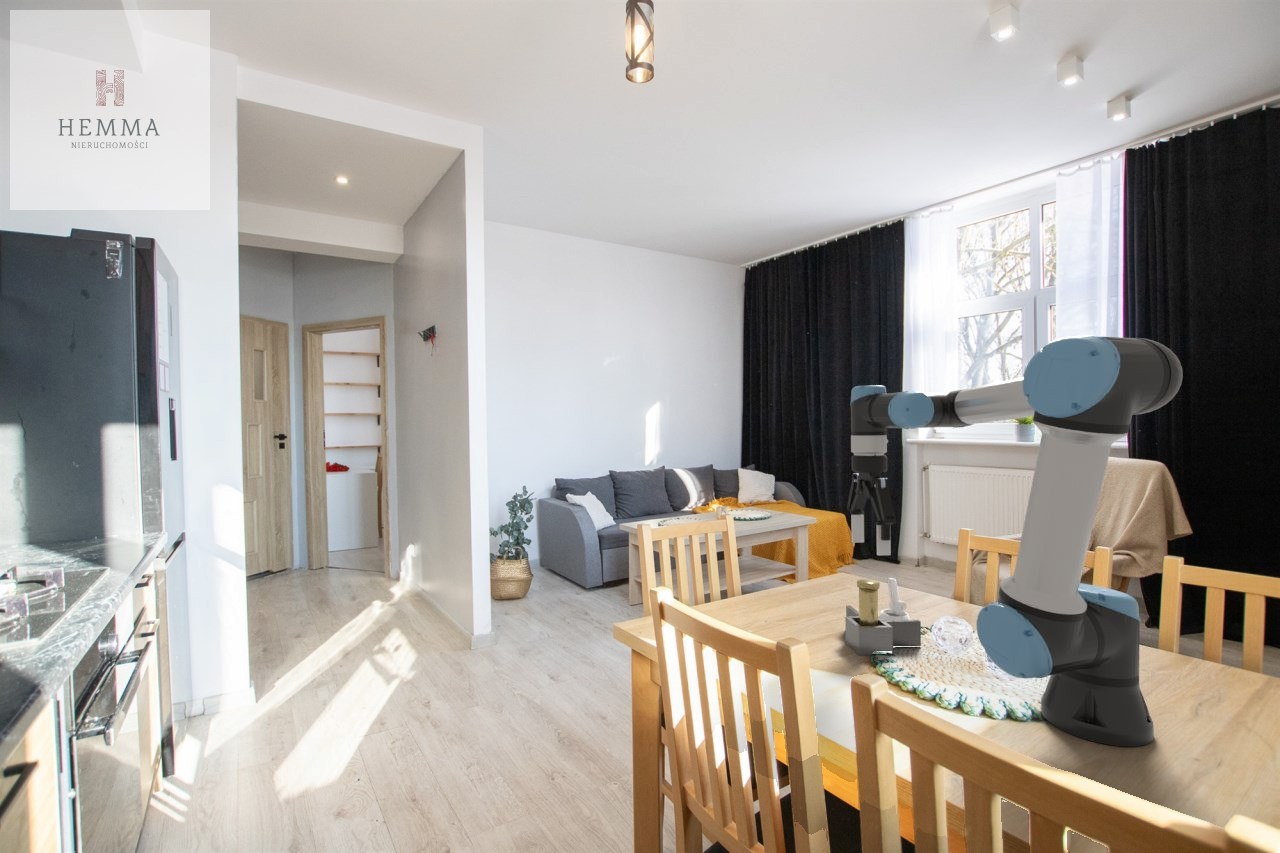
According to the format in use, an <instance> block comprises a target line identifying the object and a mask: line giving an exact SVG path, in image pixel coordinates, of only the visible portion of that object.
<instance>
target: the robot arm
mask: <svg viewBox="0 0 1280 853" xmlns="http://www.w3.org/2000/svg"><path fill="white" fill-rule="evenodd" d="M1181 364H1182V363H1181V362H1180V360H1179V358H1178V356H1177V355H1176V354H1175V353H1174V352H1173V350H1171V349H1170V348H1168V347H1167V346H1165V344H1162V343H1160V342H1158V341H1155V340H1152V339H1148V338H1140V337H1119V336H1118V337H1117V336H1102V335H1101V336H1100V335H1099V336H1098V335H1093V334H1090V335H1077V336H1076V335H1075V336H1074V335H1073V336H1067V337H1061V338H1058V339H1055V340H1052V341H1050V342H1049V343H1046V344H1045V345H1044V346H1043V347H1042V348H1040V349H1039V350H1037V352H1035V354H1034V355H1033V356H1032V357H1031V358H1030V360H1029V362H1028V363H1027V365H1026V367H1025V370H1024V373H1023V376H1022V377H1018V378H1013V379H1008V380H1003V381H998V382H992V383H988V384H983V385H977V386H973V387H968V388H963V389H958V390H951V391H946V392H945V391H944V392H940V391H939V392H933V391H932V392H931V391H930V392H928V391H927V392H925V391H924V392H922V391H914V390H905V391H900V392H899V391H898V392H891V393H887V387H886V386H885V385H881V384H880V385H879V384H878V385H877V384H876V385H875V384H874V385H873V384H871V385H870V384H869V385H857V386H854V387H852V389H851V392H850V393H851V394H850V395H851V396H850V404H849V406H850V430H851V431H850V432H851V433H850V434H851V435H850V452H851V453H853V455H852V456H851V470H852V472H854V473H852V474H851V484H850V490H849V495H848V501H847V504H846V505H847V506H846V510H847V511H849V513H850V515H851V520H850V522H851V523H850V524H851V527H850V528H851V543H853V544H854V543H865V514H866V513H865V511H864V509H865V506H866V503H867V500H870V502H871V505H872V507H873V510H874V514H875V516H876V519H877V521H876V522H875V525H876V555H877V556H891V554H892V550H891V548H892V547H891V543H892V542H891V541H892V540H891V538H892V537H891V534H892V533H891V526H892V525H893V524H896V523H897V517H896V513H895V509H894V506H893V504H894V503H893V499H892V495H891V492H890V482H889V478H888V477H882V475H881V473H885V472H888V457H887V455H886V453H887V452H888V449H887V448H888V445H887V444H888V443H889V440H888V438H887V435H888V430H887V429H888V428H889V429H906V430H910V429H922V428H953V429H954V428H955V429H957V428H965V427H969V426H974V425H975V424H984V423H991V422H998V421H1009V420H1016V419H1024V418H1030V417H1031V418H1032V422H1033V423H1034V425H1035V426H1036V427H1037V428H1038V430H1039V431H1040V433H1041V438H1040V443H1039V447H1038V452H1037V457H1036V461H1035V467H1034V472H1033V478H1032V481H1031V488H1030V493H1029V497H1028V500H1027V501H1028V502H1027V507H1026V513H1025V517H1024V522H1023V527H1022V532H1021V537H1020V541H1019V542H1020V543H1019V547H1018V551H1017V557H1016V561H1015V567H1014V572H1013V574H1012V575H1010V576H1007V577H1006V578H1003V579H1002V580H1001V582H1000V586H999V590H998V595H997V600H996V602H994V601H993V602H990V603H989V604H987V605H986V606H983V607H982V608H981V609H980V610H979V612H978V614H977V617H976V623H975V624H976V632H977V636H978V641H979V643H980V644H981V646H982V647H983V648H984V650H985V654H986V656H988V658H989V659H990V660H991V661H992V662H993V664H994V665H996V667H998V669H1000V670H1002V671H1003V672H1005V673H1006V674H1008V675H1010V676H1012V677H1015V678H1018V679H1019V678H1020V679H1043V678H1046V677H1048V676H1049V679H1048V681H1047V684H1046V686H1045V687H1046V688H1045V690H1044V692H1043V694H1041V698H1040V703H1041V705H1040V711H1041V715H1042V716H1043V718H1044V719H1045V720H1046V721H1047V722H1049V723H1050V724H1052V725H1053V726H1055V727H1056V728H1058V729H1060V730H1062V731H1064V732H1066V733H1068V734H1070V735H1073V736H1076V737H1079V738H1081V739H1085V740H1088V741H1092V742H1094V743H1095V742H1096V743H1099V744H1105V745H1108V746H1109V745H1110V746H1115V747H1141V746H1146V745H1149V744H1150V743H1152V742H1153V741H1154V738H1155V737H1154V726H1155V725H1154V721H1153V719H1152V716H1150V711H1149V709H1148V706H1147V702H1146V701H1145V698H1144V695H1143V693H1142V690H1141V688H1140V625H1141V624H1140V623H1141V622H1142V621H1141V620H1142V619H1141V617H1140V613H1139V612H1140V611H1139V603H1138V602H1137V600H1136V599H1135V598H1134V597H1133V596H1131V595H1129V593H1125V592H1123V591H1119V590H1116V589H1112V588H1108V587H1103V586H1100V585H1093V584H1088V583H1082V582H1081V581H1082V580H1081V579H1082V574H1083V573H1084V572H1083V570H1084V568H1085V567H1084V566H1085V562H1086V559H1087V553H1088V549H1089V546H1090V541H1091V535H1092V532H1093V528H1094V524H1095V523H1094V522H1095V518H1096V513H1097V510H1098V506H1099V503H1100V502H1099V501H1100V497H1101V493H1102V489H1103V488H1102V487H1103V483H1104V479H1105V475H1106V470H1107V466H1108V461H1109V458H1110V454H1111V453H1110V452H1111V448H1112V445H1113V444H1114V443H1115V442H1117V441H1118V440H1121V439H1123V438H1124V437H1126V436H1127V435H1128V434H1129V429H1130V424H1131V421H1132V416H1133V415H1142V414H1147V413H1151V412H1153V411H1156V410H1159V409H1161V408H1162V407H1163V406H1165V405H1167V404H1168V403H1169V402H1170V401H1172V400H1173V399H1174V397H1175V396H1176V395H1177V394H1178V393H1179V390H1180V387H1181V386H1182V382H1183V378H1184V376H1183V373H1184V372H1183V367H1182V365H1181Z"/></svg>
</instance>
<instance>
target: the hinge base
mask: <svg viewBox="0 0 1280 853" xmlns="http://www.w3.org/2000/svg"><path fill="white" fill-rule="evenodd" d="M845 610H846V611H845V617H844V618H845V620H844V621H845V622H844V624H845V625H844V626H845V643H846V644H847V646H849V648H851V649H852V650H853V651H854V652H855V653H856V654H857V655H858V656H873V655H872V653H873V652H874V651H894V648H893V646H921V647H922V644H921V643H922V641H921V640H922V638H921V635H922V631H921V629H922V628H921V627H922V626H921V623H922V622H921V620H920V619H911V620H887V621H884V620H882V619H881V618H880V617H879V616H878V626H860V625H859V610H857V609H855V608H854V607H853V606H851V605H846V607H845Z"/></svg>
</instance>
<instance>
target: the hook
mask: <svg viewBox="0 0 1280 853" xmlns="http://www.w3.org/2000/svg"><path fill="white" fill-rule="evenodd" d="M887 587H888V593H889V598H890V599H889V600H890V601H889V602H890V603H889V608H884V609H882V610H881V611H880V613H879V614H878V617H880V618H881V619H882V620H884V621H887V620H912V619H911V617H910V615H909V613H908V612H906V611H905V610H906V609H907V603H906V602H905V601H904V600H900V594H899V588H898V582H897V580H896V578H893V577H888V578H887Z"/></svg>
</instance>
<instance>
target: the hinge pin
mask: <svg viewBox="0 0 1280 853" xmlns="http://www.w3.org/2000/svg"><path fill="white" fill-rule="evenodd" d="M880 584H881V583H880V581H877V580H873V579H867V578H866V579H858V580H857V581H856V587H857V588H858V612H859V625H860V626H878V617H879V595H878V594H879V593H878V592H879V591H878V590H880Z"/></svg>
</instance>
